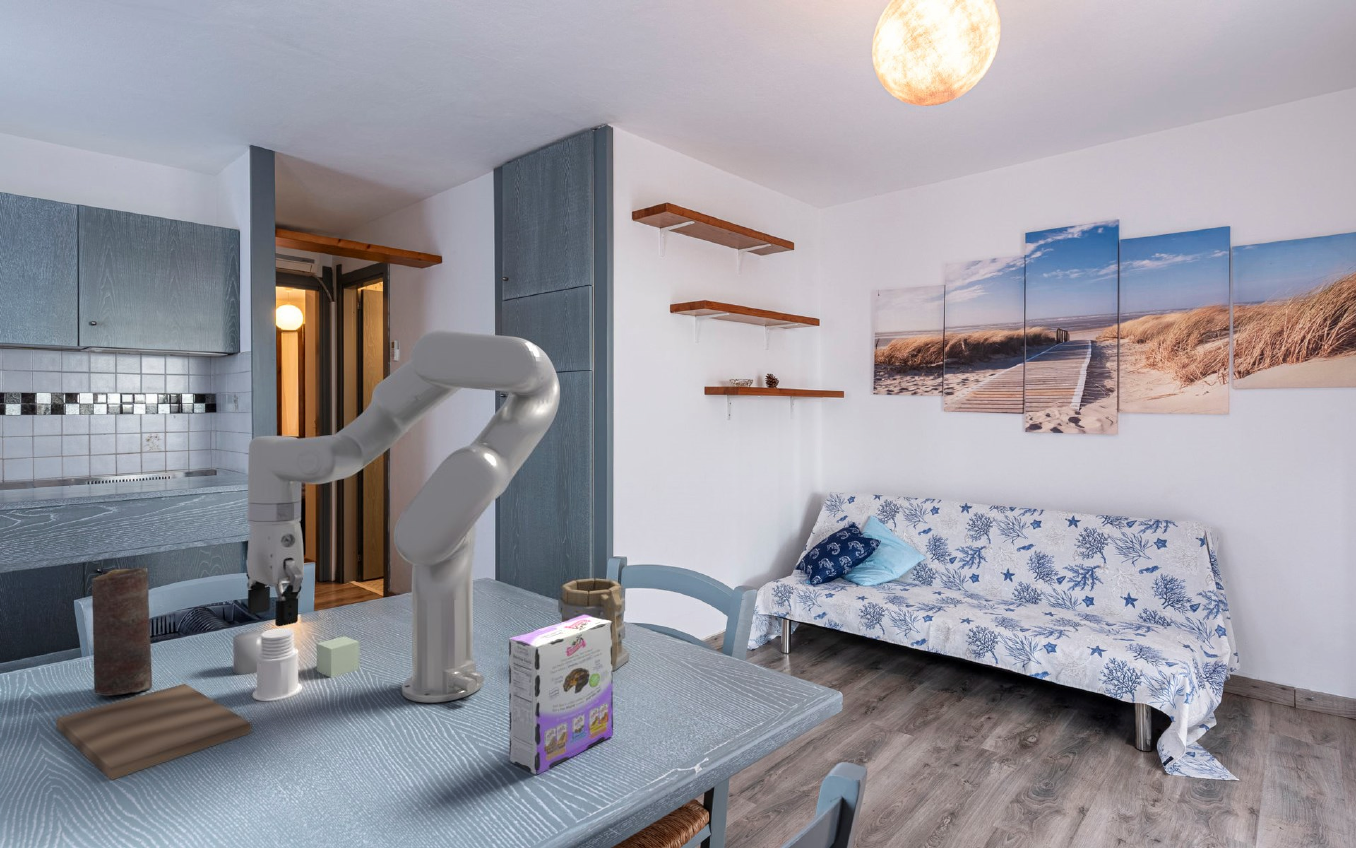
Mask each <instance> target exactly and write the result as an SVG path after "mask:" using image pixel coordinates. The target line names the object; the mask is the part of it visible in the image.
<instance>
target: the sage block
mask: <svg viewBox="0 0 1356 848" xmlns="http://www.w3.org/2000/svg"><path fill="white" fill-rule="evenodd" d="M358 670H360V641H359V640H356V639H353V638H351V637H347V636H344V635H343V636H340V637H337V638H333V639H328V640H324V641H320V642H317V643H316V672H317V673H320V674H322V675H324V676H327V677H328V678H331V679H333V678H335V677H339V676H342V675H344V674H349V673H352V672H354V671H355V672H356V671H358Z"/></svg>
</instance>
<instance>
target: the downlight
mask: <svg viewBox="0 0 1356 848" xmlns="http://www.w3.org/2000/svg"><path fill="white" fill-rule="evenodd" d="M261 637H262V638H261V641H262V642H261V644H262V645H261V648H262V649H261V653H259V654H258V655H257V672H256V689H255V690H254V691H253V692H252V698H253V699H254V700H257V701H260V702H275V701H280V700H285V699H288V698H292V697H294V696H296V695H298V694H299V693H301V691H302V690H303V685H302V684H301V683H299V650H298V648H295V629H293V628H291V627H290V628H289V627H278V628H273V629H269V630H266V631H263V633H262V634H261Z"/></svg>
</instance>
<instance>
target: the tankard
mask: <svg viewBox="0 0 1356 848" xmlns="http://www.w3.org/2000/svg"><path fill="white" fill-rule="evenodd" d="M622 592H623V591H622V585H621V584H620V583H619V582H617V581H615V580H614V579H613V580H612V579H605V578H603V579H602V578H594V577H593V578H585V579H575V580H572V581H569V582H567V583H564V584H563V585H562V586H561V597H560V598H558V600H557V602H558V603H557V610H558V613H560V615H561V622H564V621H567V620H570V619H573V618H576V617H579V616H582V615H588V616H592V617H596V618H601V619H604V620H608V621H612V672H615V671H616V670H618V669H620V668H622V666H623V665H625V664H626V663H628V662H629V661H630V651H628V650H627V648H625V647H624V646H623V645H622V643H623V642H622V641H623V640H624V639H625V638H626V625H625V624H624V623H622V621H623V620H622V617H623V616H622V615H623V614H622V613H624V612H625V611H626V599H625V598H624V597H623V596H622Z"/></svg>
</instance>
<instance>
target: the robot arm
mask: <svg viewBox="0 0 1356 848" xmlns="http://www.w3.org/2000/svg"><path fill="white" fill-rule="evenodd" d="M461 389H471V390H472V389H473V390H481V391H483V390H487V391H496V392H506V393H508V394H507V395H508V396H507V398H506V400H505V401H504V402H503V404H502V406H501V407H500V408H499V409H498V410H497V411H496V412H495V413H494V415H493V416H492V417H491V418H490V420H489V421H488V423H487V424H486V426H485V427H484V428H483V429H482V430H481V431H480V433H479V434H478V435H477V437H476V438H475V439H474V440H473V442H471V443H470V444H469V445H467V446H464V447H461V448H458V449H456V450H455V451H453V452H451V453H450V454H449V455H448V456H446V458H445V459H444V460H443V461H442V462H441V463H440V464H439V465H438V467H437V468H436V469H435V470H434V472H432V474H431V476H430V477H429V478H428V479H427V481H426V482H425V483H424V484H423V486H422V487H421V488H420V490H419V491H418V492H417V494H415V496H414V497H413V499H412V500H411V501H410V503H409V504H408V505H407V506H406V507H405V509H404V510H403V512H401V515H400V516H399V518H397V519H398V520H397V521H396V523H395V526H394V531H393V541H394V546H395V549H396V551H397V552H398V554H399V556H400V557H401V558H403V560H405V561H406V562H408V563H409V564H412V571H411V659H412V660H411V663H412V664H411V669H412V670H411V671H412V672H411V674H412V676H411V677H409V678H408V679H406V680H405V681H404V682H403V683H402V686H401V693H402V696H403V697H404V698H406V699H407V700H409V701H413V702H418V703H431V704H432V703H444V702H450V701H455V700H459V699H462V698H465V697H468V696H471V695H472V694H474V693H476V692H477V691H478V690H480V689H481V688H482V687H483V683H484V679H485V678H484V675H483V674H482V673H480V672H479V671H478V670H477V662H476V661H474V614H473V613H474V612H473V610H474V606H473V605H474V603H473V602H474V601H473V599H474V597H473V595H474V593H473V592H474V553H475V543H476V522H477V521H478V520H479V519H480V517H482V515H484V513H485V511H486V510H487V509H488V508H489V506H490V505H491V503H492V502H493V501H495V500H496V499H498V498H499V497H500V496H502V494H503V493H504V492H505V491H506V490H507V488H508V486H509V484H510V483H511V481H512V480H513V478H514V477H515V475H516V474H517V472H518V471H519V470H520V468H521V467H522V466H523V465H524V463H525V462H526V461H527V459H528V458H529V457H530V455H531V454H532V453H533V451H534V450H535V448H536V447H537V445H538V444H539V442H540V441H541V440H542V439H543V437H544V436H545V434H546V433H547V432H548V430H549V429H550V426H551V425H552V423H553V421H554V420H555V417H556V415H557V412H558V409H559V405H560V398H561V388H560V382H559V379H558V374H557V371H556V369H555V367H554V364H553V362H552V361H551V359H550V358H549V356H548V355H547V353H546V352H545V351H544V350H543V349H541V347H539V346H538V345H536V344H534V343H533V342H531V341H529V340H527V339H525V338H522V337H517V336H509V335H496V334H484V333H469V332H462V331H461V332H460V331H453V330H452V331H451V330H434V331H431V332H428V333H425V334H424V335H422V336H421V337H420V338H419V339H418V340H417V341H416V342H415V343H414V346H413V348H412V350H411V353H410V359H409V360H408V361H407V362H405V363H404V364H403V365H401V366H400V367H399V368H398V369H397V368H396V370H395V371H394V372H392V373H391V374H389V375H388V376H387V377H385V379H383V380H382V381H380V382H378V384H377V385H376V386H375V387H374V388H373V391H372V394H371V395H372V396H371V401H370V403H369V404H368V406H367V408H366V409H365V410H364V411H362V413H361V414H360V415H358V416H357V417H356V418H355V419H354V420H353V421H351V422H349V423H348V424H347V425H346V426H345V427H343V428H342V429H341V430H339V431H338V432H336V433H334V435H333V434H332V435H331V434H330V435H320V436H312V437H302V438H297V437H296V436H289V435H287V436H286V435H263V436H261V435H260V436H256V437H253V438H252V439H251V441H249V445H248V462H247V464H248V465H247V467H248V474H247V517H246V518H247V519H246V520H247V521H246V523H247V524H248V525H249V524H250V526H249V532H248V542H247V556H246V557H247V558H246V560H245V565H246V577H247V583H246V587H247V589H248V590H247V614H249V615H254V614H260V613H265V612H268V611H269V610H270V608H271V607H270V603H271V602H270V601H271V598H270V597H271V588H274V589H275V592H276V595H277V598H278V600H275V618H274V620H275V622H274V623H275V624H274V625H275V626H277V627H284V626H288V625H292V624H297V623H298V621H299V599H300V598H301V593H300V592H301V590H302V587H303V586H302V583H303V581H304V579H305V578H304V577H305V568H304V567H305V565H304V564H305V563H304V562H305V559H304V542H303V541H304V540H303V531H302V527H301V520H302V484H309V485H310V484H311V485H321V484H328V483H331V482H334V481H338V480H343V479H347V478H350V477H352V476H353V475H355V474H357V473H358V472H360V471H362V469H364V468H365V467H366V466H368V465H369V464H370V463H372V462H373V461H375V460H376V459H378V458H379V457H380V456H382V455H383V454H384V453H385V452H386V451H387V450H388V449H389V448H391V447H392V446H393V445H394V444H395V443H397V441H399V439H401V438H402V437H403V436H404V435H405V434H406V433H408V431H409V430H410V429H411V428H412V427H413V426H415V425H416V424H417V423H418V422H419V421H421V420H422V419H423V418H424V417H426V416H427V415H428V414H429V413H431V412H432V411H433V410H435V409H436V408H438V407H439V406H440V405H442V403H444V402H445V401H446V400H448V399H449V398H451V397H452V396H453V395H454V394H456V393H457V392H459V391H460V390H461ZM284 587H286V588H285V589H283V588H284Z"/></svg>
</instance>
